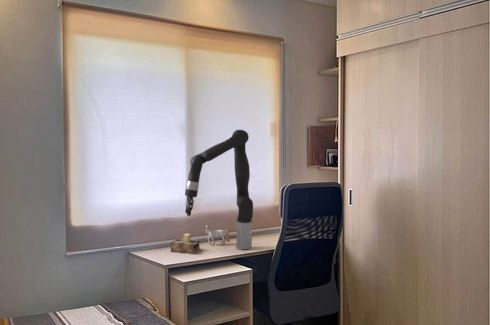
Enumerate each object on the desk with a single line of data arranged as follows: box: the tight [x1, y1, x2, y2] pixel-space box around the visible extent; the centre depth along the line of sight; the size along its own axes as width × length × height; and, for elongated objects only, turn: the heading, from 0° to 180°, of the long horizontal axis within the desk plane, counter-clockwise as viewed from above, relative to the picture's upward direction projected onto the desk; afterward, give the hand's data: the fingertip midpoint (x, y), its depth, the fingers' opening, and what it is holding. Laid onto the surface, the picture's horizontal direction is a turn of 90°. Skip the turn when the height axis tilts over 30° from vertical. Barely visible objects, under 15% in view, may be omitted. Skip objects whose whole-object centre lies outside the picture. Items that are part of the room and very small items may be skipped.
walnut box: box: [170, 237, 201, 254], centre depth 306 cm, size 14×12×6 cm
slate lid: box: [178, 233, 198, 246], centre depth 305 cm, size 12×8×6 cm
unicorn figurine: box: [203, 224, 231, 246], centre depth 322 cm, size 7×20×13 cm, turn 119°
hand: (187, 214), depth 306 cm, fingers open, 8 cm apart
